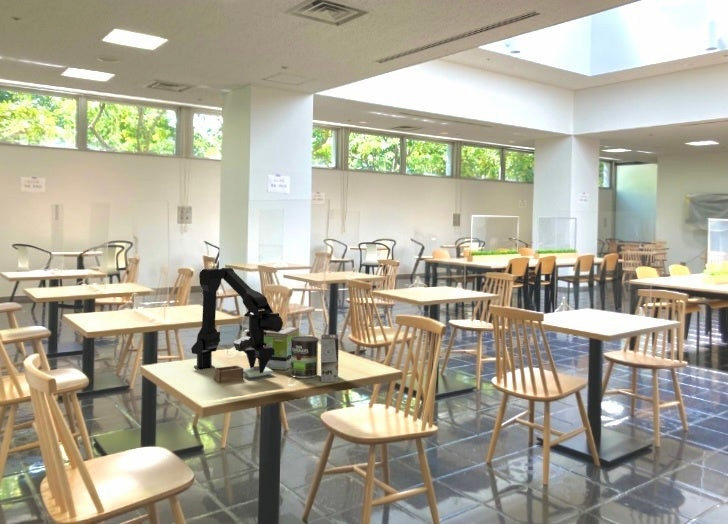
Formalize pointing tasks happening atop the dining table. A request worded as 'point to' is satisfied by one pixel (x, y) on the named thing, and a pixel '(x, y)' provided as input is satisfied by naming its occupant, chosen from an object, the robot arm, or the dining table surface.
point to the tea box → (280, 347)
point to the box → (228, 374)
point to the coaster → (258, 377)
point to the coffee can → (304, 356)
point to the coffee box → (329, 358)
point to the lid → (256, 372)
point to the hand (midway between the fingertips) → (256, 370)
